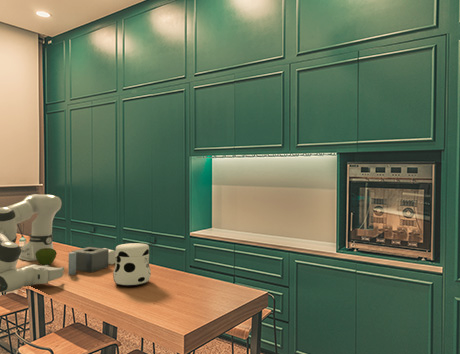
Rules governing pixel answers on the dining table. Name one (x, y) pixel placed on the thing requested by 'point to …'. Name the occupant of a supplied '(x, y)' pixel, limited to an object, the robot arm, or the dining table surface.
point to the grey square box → (91, 259)
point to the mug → (111, 256)
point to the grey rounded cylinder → (72, 263)
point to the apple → (45, 256)
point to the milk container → (132, 264)
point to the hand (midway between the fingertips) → (55, 267)
